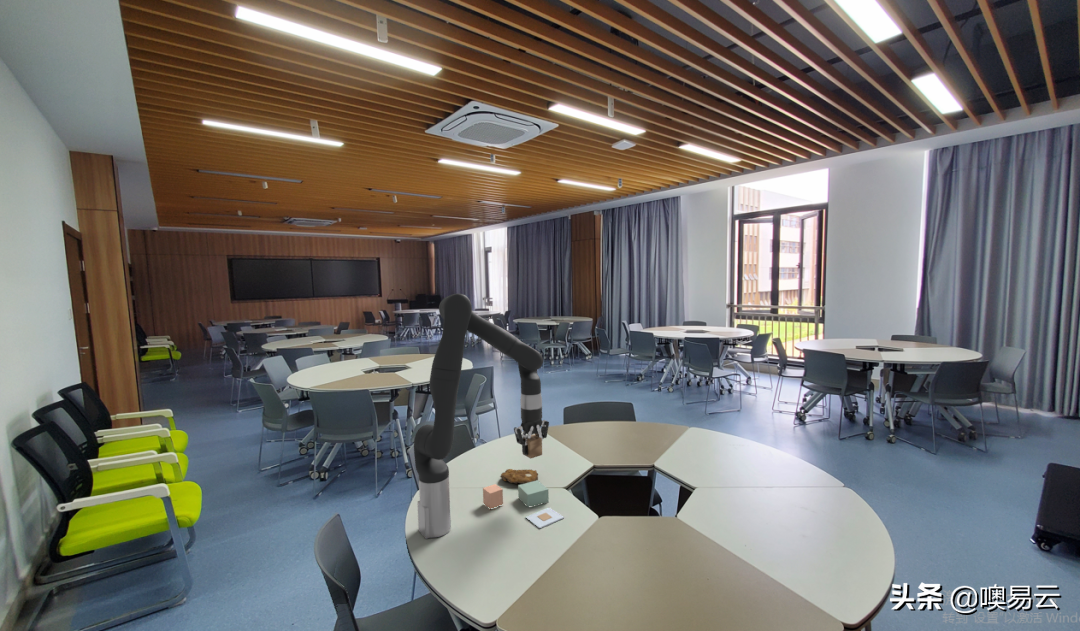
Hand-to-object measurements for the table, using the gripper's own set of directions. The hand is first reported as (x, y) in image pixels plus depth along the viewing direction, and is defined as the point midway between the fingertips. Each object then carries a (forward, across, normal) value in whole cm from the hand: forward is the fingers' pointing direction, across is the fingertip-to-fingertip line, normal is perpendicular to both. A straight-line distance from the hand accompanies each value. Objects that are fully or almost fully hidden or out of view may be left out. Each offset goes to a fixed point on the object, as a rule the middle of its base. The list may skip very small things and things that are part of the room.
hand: (532, 452), depth 154 cm
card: (+17, -4, -12) cm, 22 cm away
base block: (+18, 0, 0) cm, 18 cm away
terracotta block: (+17, -13, +6) cm, 23 cm away
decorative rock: (+18, +4, +16) cm, 24 cm away
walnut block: (+1, 0, 0) cm, 1 cm away
